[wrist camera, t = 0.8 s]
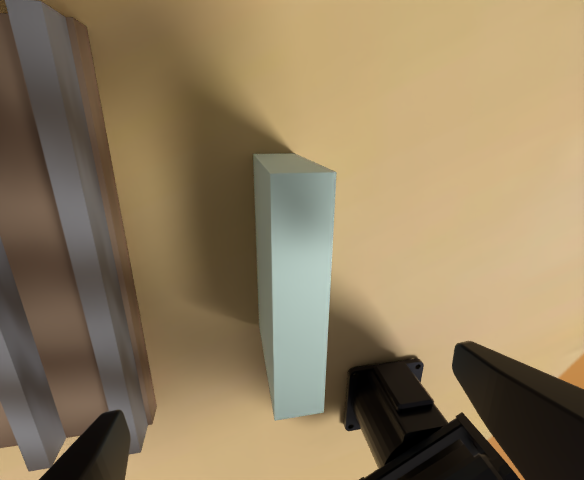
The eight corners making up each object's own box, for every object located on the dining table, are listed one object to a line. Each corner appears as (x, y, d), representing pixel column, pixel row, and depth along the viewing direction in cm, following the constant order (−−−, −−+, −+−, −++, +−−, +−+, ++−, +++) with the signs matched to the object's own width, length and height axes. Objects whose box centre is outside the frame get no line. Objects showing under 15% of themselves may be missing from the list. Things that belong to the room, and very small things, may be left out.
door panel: (293, 321, 24) (323, 412, 16) (259, 325, 23) (274, 420, 16) (294, 153, 19) (336, 172, 12) (253, 153, 19) (270, 173, 12)
